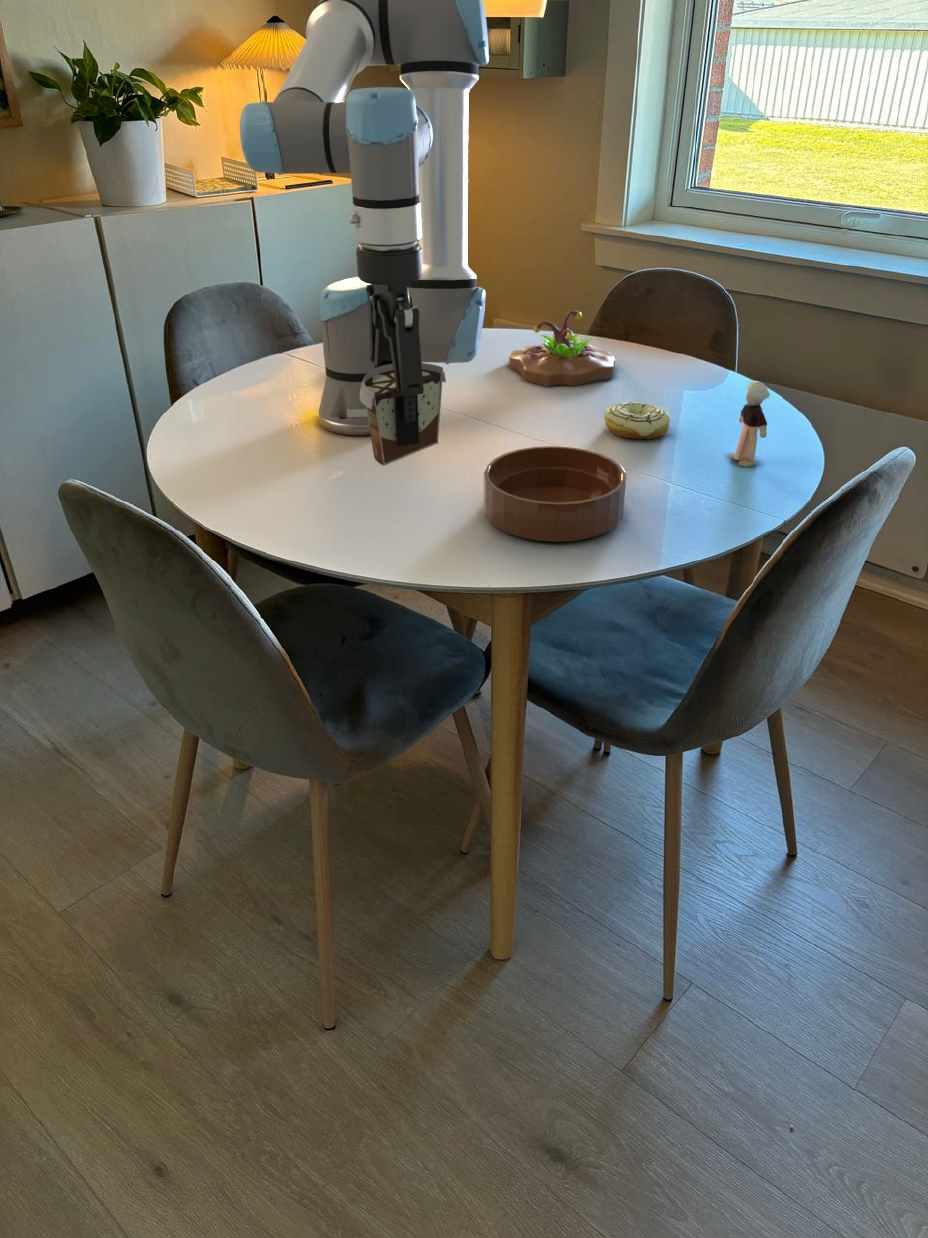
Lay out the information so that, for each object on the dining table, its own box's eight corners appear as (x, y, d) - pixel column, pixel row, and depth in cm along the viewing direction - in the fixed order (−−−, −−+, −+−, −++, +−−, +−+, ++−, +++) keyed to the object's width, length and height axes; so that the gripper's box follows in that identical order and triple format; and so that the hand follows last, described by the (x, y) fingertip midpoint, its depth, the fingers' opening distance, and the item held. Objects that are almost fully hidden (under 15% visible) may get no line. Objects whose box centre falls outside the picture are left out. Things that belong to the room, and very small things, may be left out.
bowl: (464, 496, 135) (464, 457, 131) (583, 476, 140) (586, 438, 137) (516, 556, 119) (517, 513, 116) (648, 530, 125) (652, 489, 122)
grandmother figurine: (719, 455, 146) (731, 376, 139) (739, 451, 147) (752, 372, 141) (750, 473, 140) (764, 391, 133) (771, 469, 141) (786, 387, 135)
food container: (414, 425, 126) (413, 353, 120) (446, 439, 122) (446, 366, 116) (343, 453, 119) (337, 378, 113) (374, 469, 115) (370, 392, 109)
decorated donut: (651, 447, 149) (654, 425, 147) (592, 433, 154) (594, 411, 152) (678, 427, 156) (681, 405, 154) (621, 414, 162) (623, 393, 160)
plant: (631, 379, 177) (636, 319, 171) (534, 390, 173) (536, 329, 167) (590, 350, 194) (593, 294, 188) (500, 359, 189) (501, 303, 183)
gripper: (335, 229, 113) (350, 410, 126) (381, 265, 97) (393, 467, 110) (394, 224, 115) (403, 402, 128) (448, 258, 99) (453, 457, 112)
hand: (398, 432), depth 119 cm, fingers closed on food container, 7 cm apart
